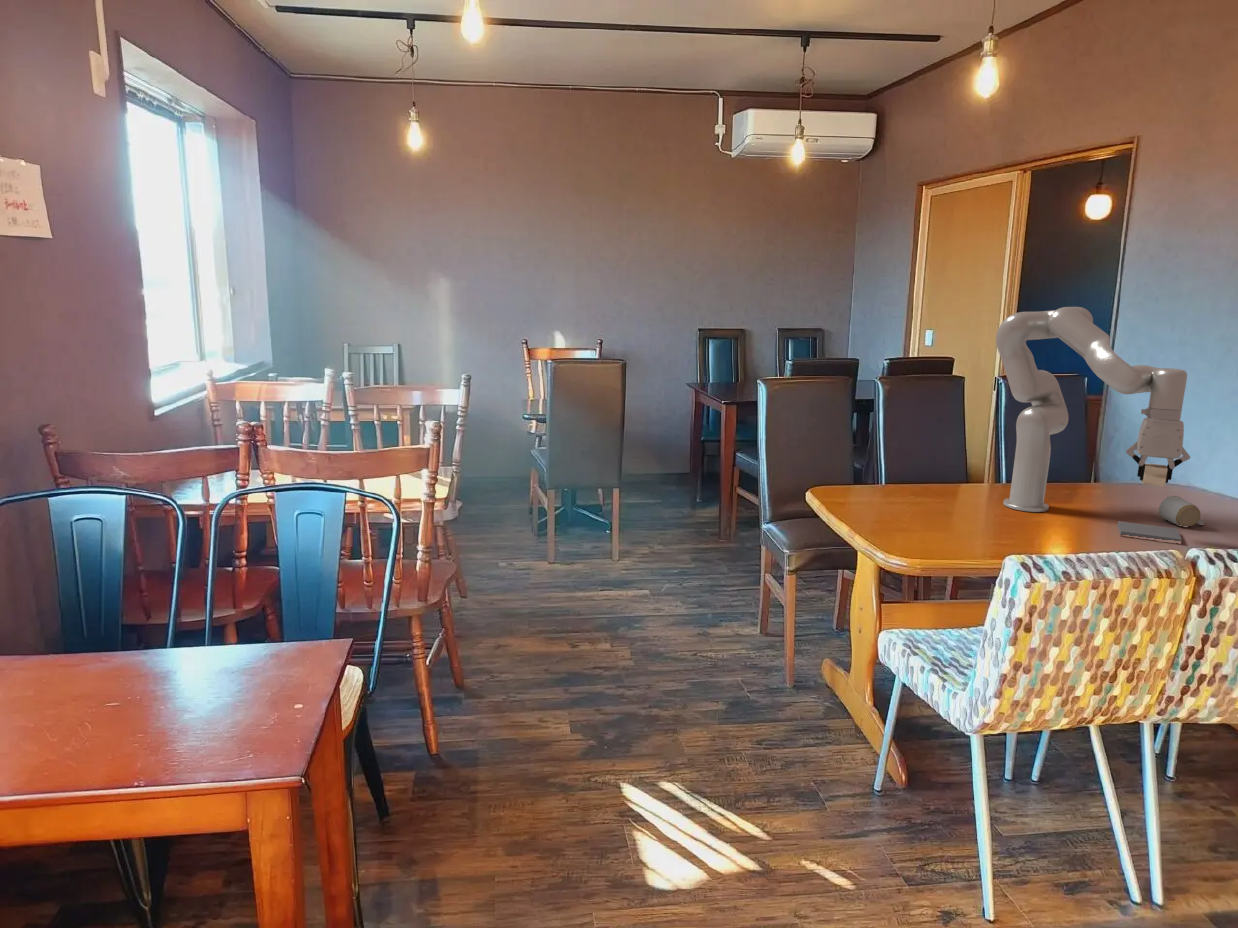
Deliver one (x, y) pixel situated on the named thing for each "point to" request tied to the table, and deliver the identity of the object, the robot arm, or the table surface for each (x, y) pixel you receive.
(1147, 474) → the beech cube
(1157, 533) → the serving board
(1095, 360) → the robot arm
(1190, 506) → the ceramic mug
